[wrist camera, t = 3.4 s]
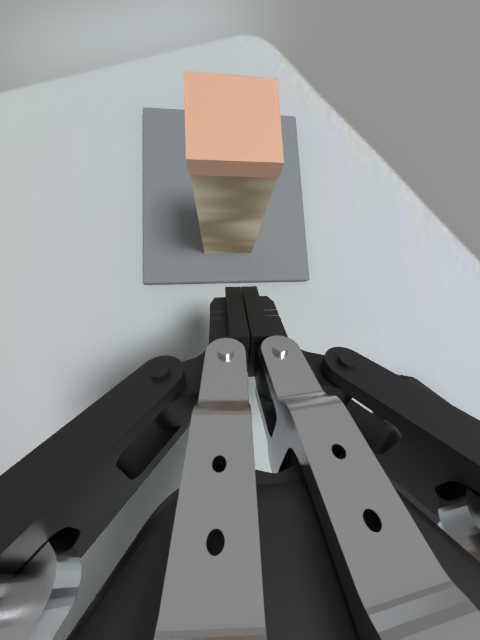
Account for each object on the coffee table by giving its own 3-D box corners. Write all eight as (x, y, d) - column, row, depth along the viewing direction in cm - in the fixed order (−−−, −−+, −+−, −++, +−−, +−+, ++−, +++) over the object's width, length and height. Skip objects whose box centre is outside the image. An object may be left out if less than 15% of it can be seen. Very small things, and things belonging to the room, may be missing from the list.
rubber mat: (145, 284, 17) (143, 283, 17) (145, 113, 19) (142, 107, 18) (306, 281, 18) (309, 279, 18) (293, 122, 20) (295, 116, 20)
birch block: (203, 253, 17) (185, 159, 8) (202, 208, 18) (183, 71, 9) (251, 253, 18) (284, 162, 9) (249, 209, 18) (277, 78, 9)
